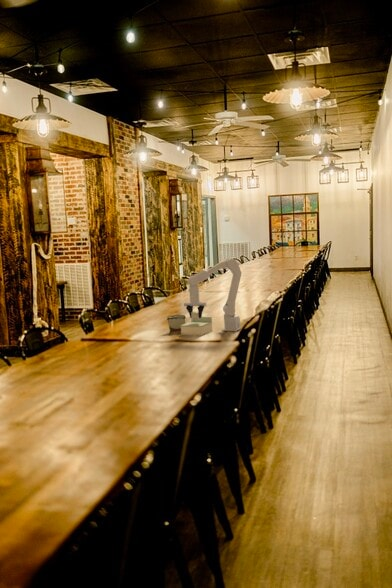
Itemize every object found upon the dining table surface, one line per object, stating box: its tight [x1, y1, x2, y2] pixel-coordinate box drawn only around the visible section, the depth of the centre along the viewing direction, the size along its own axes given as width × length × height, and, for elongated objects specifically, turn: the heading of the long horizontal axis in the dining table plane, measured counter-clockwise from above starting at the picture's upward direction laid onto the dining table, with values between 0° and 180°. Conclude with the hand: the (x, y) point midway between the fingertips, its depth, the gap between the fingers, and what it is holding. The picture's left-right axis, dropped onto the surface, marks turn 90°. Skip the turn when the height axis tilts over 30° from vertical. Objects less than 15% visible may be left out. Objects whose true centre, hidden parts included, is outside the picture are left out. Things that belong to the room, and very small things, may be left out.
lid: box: [181, 316, 213, 327], centre depth 340 cm, size 14×14×4 cm
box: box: [180, 322, 213, 336], centre depth 341 cm, size 14×14×5 cm
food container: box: [166, 314, 187, 334], centre depth 349 cm, size 12×6×10 cm, turn 84°
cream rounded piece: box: [190, 311, 200, 321], centre depth 339 cm, size 5×5×5 cm
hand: (196, 317), depth 340 cm, fingers closed on cream rounded piece, 5 cm apart
